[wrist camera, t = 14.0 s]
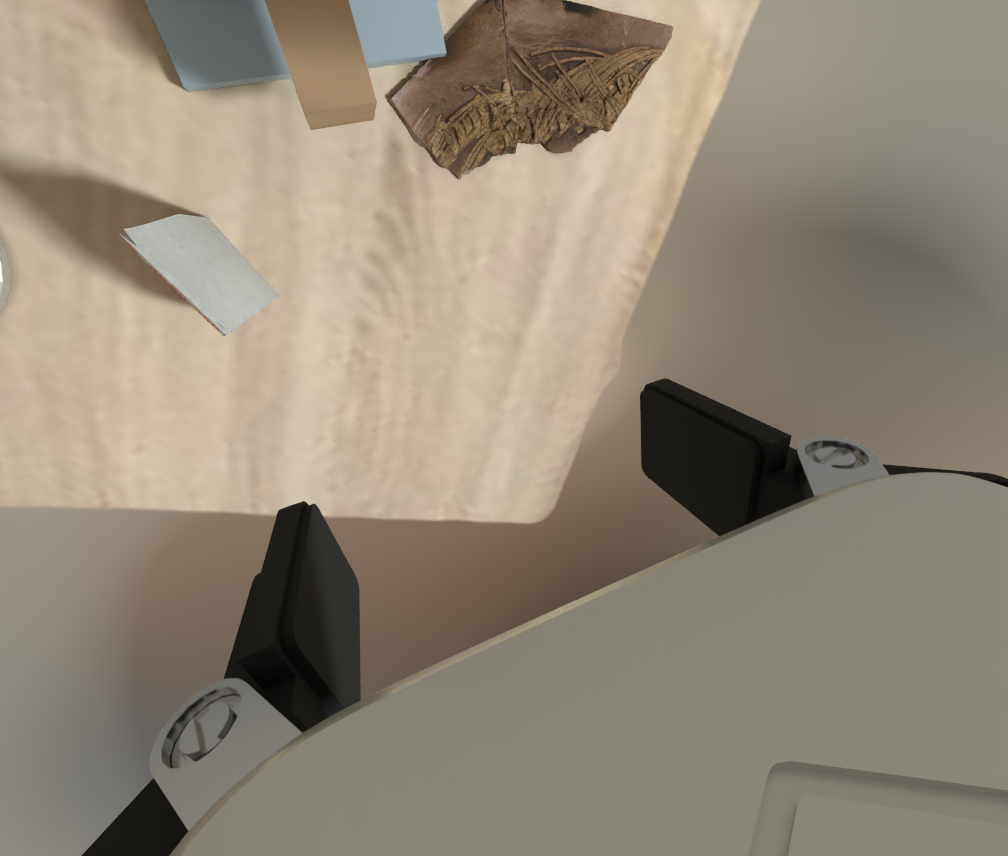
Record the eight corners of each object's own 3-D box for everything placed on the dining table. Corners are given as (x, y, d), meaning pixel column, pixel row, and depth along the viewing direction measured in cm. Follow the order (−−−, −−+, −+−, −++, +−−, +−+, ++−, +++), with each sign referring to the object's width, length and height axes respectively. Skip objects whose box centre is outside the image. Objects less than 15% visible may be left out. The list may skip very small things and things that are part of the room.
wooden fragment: (414, 190, 33) (415, 188, 33) (362, 14, 28) (363, 7, 27) (669, 126, 38) (677, 124, 37) (668, -34, 33) (676, -42, 32)
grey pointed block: (208, 217, 30) (149, 210, 21) (279, 295, 33) (253, 315, 25) (168, 246, 30) (93, 250, 21) (243, 320, 33) (205, 350, 25)
